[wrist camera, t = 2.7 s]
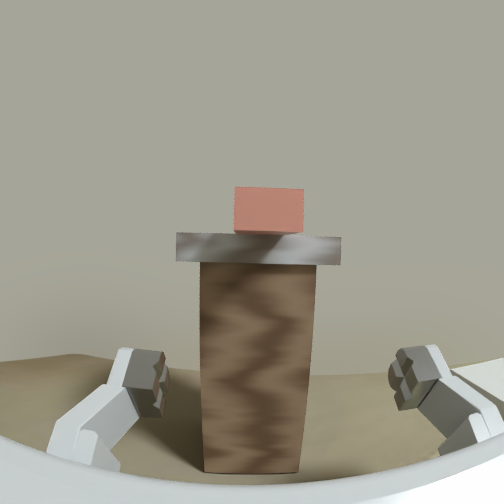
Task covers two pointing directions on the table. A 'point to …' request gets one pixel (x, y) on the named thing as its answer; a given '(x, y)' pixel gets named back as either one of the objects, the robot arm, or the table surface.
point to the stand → (485, 380)
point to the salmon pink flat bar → (268, 211)
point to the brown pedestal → (255, 344)
